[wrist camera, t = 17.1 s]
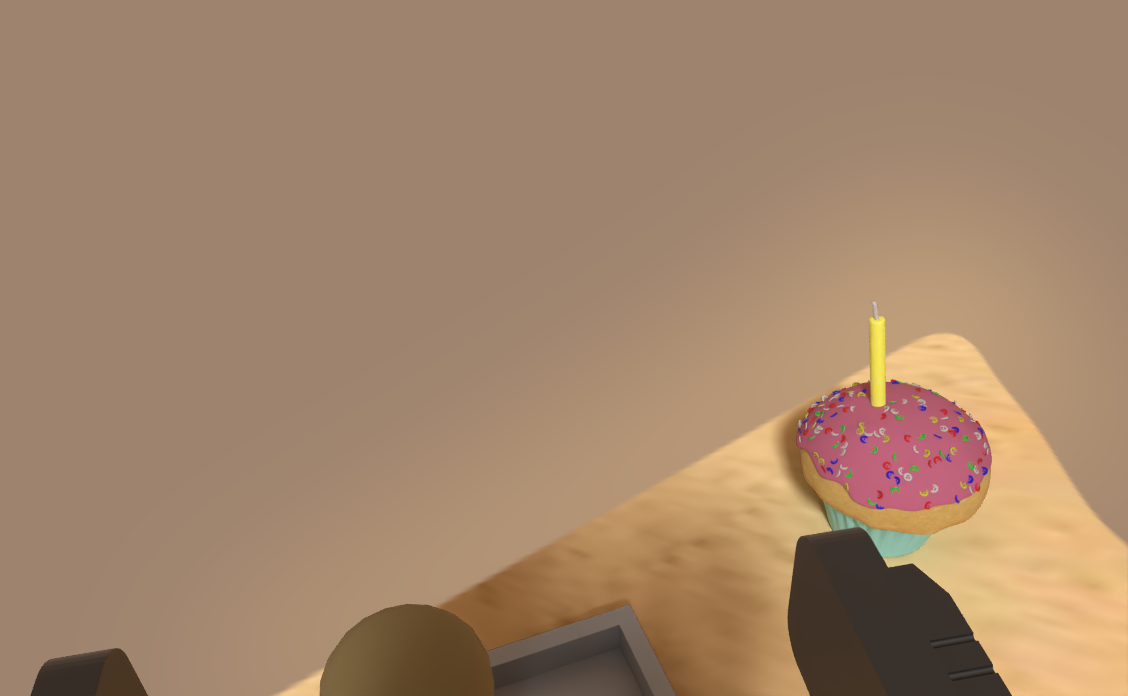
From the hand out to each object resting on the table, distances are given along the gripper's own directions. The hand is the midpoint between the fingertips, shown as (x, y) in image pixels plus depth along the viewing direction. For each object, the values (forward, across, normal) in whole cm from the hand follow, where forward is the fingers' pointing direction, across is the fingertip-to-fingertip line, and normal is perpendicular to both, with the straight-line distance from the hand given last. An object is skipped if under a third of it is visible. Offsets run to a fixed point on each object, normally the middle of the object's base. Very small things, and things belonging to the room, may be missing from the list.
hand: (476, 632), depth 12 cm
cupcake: (+23, -19, +26) cm, 40 cm away
